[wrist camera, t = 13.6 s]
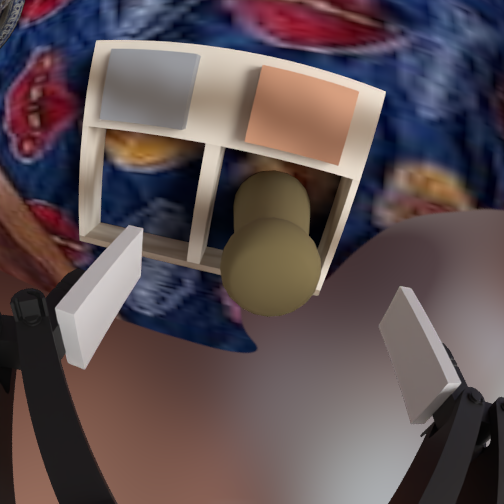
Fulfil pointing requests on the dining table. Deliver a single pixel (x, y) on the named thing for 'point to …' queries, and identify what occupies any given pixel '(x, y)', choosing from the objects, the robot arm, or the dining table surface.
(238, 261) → the cork
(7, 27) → the decorative vase
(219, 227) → the dining table surface
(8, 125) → the dining table surface
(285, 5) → the dining table surface
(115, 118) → the socket board
